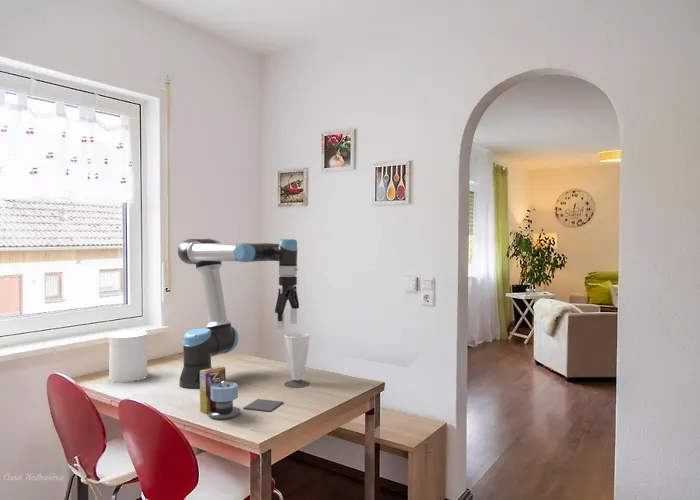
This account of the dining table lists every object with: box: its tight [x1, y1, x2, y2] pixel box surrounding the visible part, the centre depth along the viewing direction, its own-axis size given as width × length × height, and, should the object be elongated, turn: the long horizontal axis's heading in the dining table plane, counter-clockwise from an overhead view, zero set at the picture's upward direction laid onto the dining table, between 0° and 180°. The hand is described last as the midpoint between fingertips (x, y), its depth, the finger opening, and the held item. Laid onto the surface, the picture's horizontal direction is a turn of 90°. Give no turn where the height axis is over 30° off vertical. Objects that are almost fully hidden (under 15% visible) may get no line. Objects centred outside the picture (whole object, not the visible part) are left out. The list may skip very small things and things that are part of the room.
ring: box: [210, 381, 239, 402], centre depth 181 cm, size 9×9×4 cm
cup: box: [283, 332, 311, 389], centre depth 220 cm, size 12×12×22 cm
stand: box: [208, 380, 241, 421], centre depth 181 cm, size 11×11×12 cm
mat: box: [243, 398, 284, 413], centre depth 191 cm, size 11×11×1 cm
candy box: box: [199, 365, 227, 414], centre depth 186 cm, size 9×4×15 cm, turn 140°
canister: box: [108, 330, 148, 383], centre depth 231 cm, size 16×16×20 cm
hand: (287, 326), depth 211 cm, fingers open, 13 cm apart
